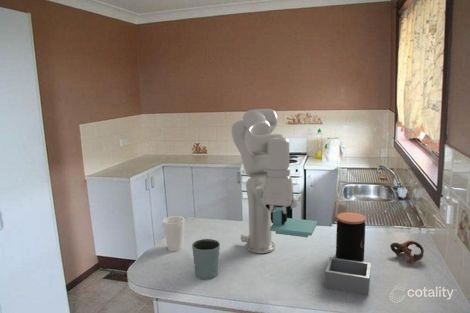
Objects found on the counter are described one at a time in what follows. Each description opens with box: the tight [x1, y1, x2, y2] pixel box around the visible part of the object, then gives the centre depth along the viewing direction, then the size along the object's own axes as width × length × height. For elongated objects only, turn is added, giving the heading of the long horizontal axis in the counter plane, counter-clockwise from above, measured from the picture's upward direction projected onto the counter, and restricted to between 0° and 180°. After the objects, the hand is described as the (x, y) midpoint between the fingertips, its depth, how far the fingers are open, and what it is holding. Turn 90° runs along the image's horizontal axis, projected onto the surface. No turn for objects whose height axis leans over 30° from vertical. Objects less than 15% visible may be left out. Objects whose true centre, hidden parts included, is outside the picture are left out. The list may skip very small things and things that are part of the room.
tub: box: [324, 257, 372, 296], centre depth 130 cm, size 14×11×7 cm
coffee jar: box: [335, 211, 367, 262], centre depth 148 cm, size 11×11×18 cm
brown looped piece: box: [389, 240, 425, 264], centre depth 149 cm, size 12×10×8 cm
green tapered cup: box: [191, 238, 221, 281], centre depth 141 cm, size 10×10×12 cm
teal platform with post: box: [270, 206, 318, 238], centre depth 134 cm, size 14×11×8 cm
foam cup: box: [162, 215, 186, 252], centre depth 164 cm, size 10×9×13 cm
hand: (278, 222), depth 136 cm, fingers closed on teal platform with post, 3 cm apart
